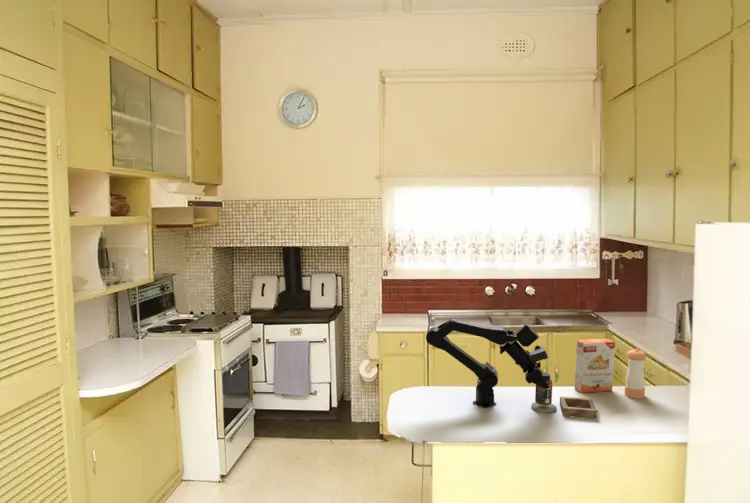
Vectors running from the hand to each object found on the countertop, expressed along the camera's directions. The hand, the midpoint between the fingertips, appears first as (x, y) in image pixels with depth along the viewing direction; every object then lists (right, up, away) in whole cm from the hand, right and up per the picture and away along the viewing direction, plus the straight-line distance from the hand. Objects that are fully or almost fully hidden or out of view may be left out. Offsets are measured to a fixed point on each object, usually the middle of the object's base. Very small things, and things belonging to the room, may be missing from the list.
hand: (547, 385), depth 210 cm
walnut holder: (+11, -9, -1) cm, 14 cm away
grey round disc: (-1, -9, +1) cm, 9 cm away
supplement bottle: (-1, -7, +1) cm, 7 cm away
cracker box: (+25, -7, +20) cm, 33 cm away
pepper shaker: (+39, -8, +14) cm, 42 cm away
